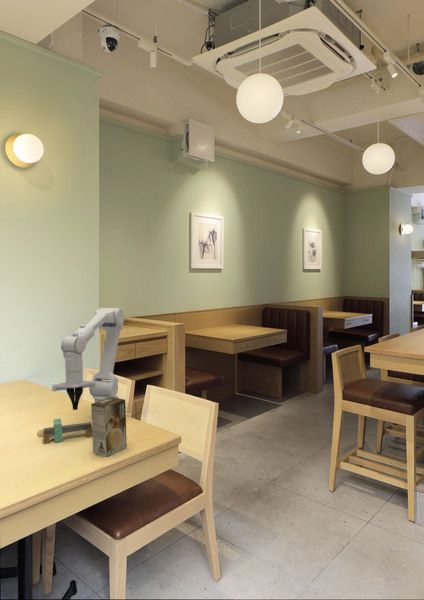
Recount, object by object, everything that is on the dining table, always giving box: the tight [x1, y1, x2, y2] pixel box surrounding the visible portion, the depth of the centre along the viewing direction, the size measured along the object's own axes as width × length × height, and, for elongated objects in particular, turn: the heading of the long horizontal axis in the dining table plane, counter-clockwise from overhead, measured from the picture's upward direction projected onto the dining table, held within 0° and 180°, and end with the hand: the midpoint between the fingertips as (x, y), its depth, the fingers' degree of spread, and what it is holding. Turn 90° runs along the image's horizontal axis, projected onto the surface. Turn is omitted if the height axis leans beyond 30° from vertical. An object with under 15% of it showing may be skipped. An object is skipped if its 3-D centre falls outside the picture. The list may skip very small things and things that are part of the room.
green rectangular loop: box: [53, 418, 63, 443], centre depth 149 cm, size 2×6×6 cm, turn 23°
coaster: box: [36, 428, 54, 438], centre depth 155 cm, size 9×9×1 cm
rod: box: [42, 421, 93, 445], centre depth 150 cm, size 16×5×4 cm, turn 113°
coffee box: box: [91, 397, 128, 458], centre depth 138 cm, size 9×6×16 cm
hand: (75, 409), depth 151 cm, fingers closed
